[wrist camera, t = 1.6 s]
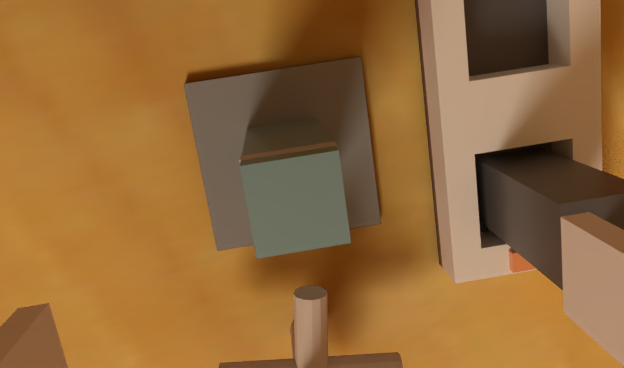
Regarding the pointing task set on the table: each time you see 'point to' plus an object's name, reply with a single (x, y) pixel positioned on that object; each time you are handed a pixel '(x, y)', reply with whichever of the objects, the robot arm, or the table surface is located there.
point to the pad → (274, 110)
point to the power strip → (503, 106)
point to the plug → (293, 188)
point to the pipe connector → (317, 340)
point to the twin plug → (542, 201)
